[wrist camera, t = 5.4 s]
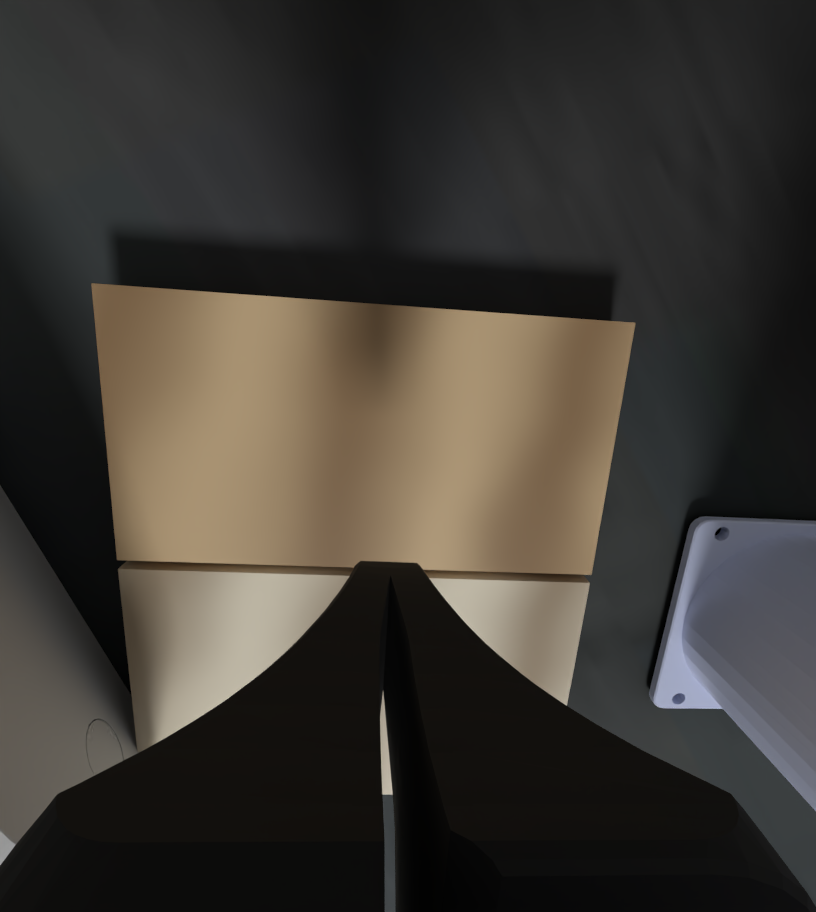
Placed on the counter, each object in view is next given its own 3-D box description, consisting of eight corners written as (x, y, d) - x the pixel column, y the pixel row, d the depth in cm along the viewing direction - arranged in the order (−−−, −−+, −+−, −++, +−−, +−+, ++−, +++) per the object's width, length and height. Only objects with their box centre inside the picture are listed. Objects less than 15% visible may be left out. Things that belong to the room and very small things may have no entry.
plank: (608, 325, 15) (635, 322, 13) (571, 553, 17) (591, 574, 15) (124, 290, 14) (91, 282, 12) (143, 538, 16) (116, 560, 14)
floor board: (570, 559, 17) (589, 583, 15) (536, 756, 19) (550, 793, 18) (143, 545, 16) (118, 568, 14) (162, 755, 18) (142, 795, 16)
